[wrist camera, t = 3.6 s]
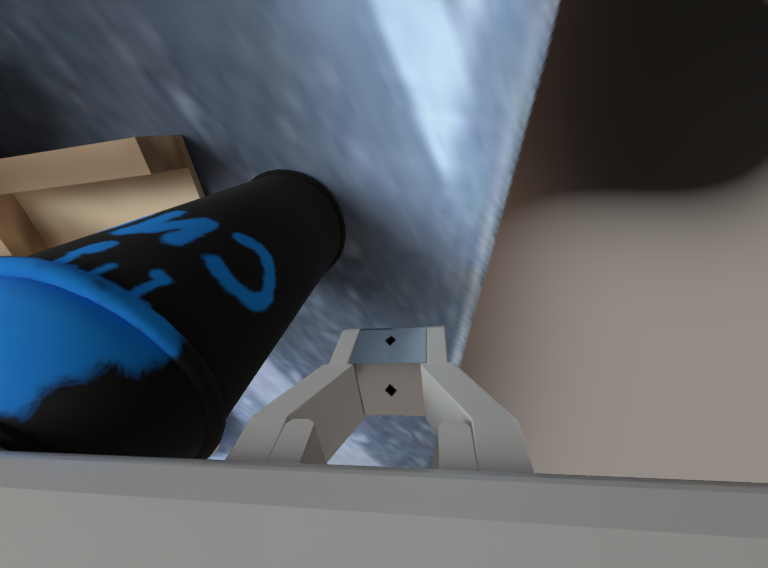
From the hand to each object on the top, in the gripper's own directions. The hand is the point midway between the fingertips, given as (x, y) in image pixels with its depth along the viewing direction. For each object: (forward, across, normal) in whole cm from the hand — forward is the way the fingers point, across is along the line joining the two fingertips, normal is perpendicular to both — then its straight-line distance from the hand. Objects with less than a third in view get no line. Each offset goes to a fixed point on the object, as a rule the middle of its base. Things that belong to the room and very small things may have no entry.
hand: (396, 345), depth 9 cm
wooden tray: (+14, +24, 0) cm, 27 cm away
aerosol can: (+14, +9, 0) cm, 17 cm away
